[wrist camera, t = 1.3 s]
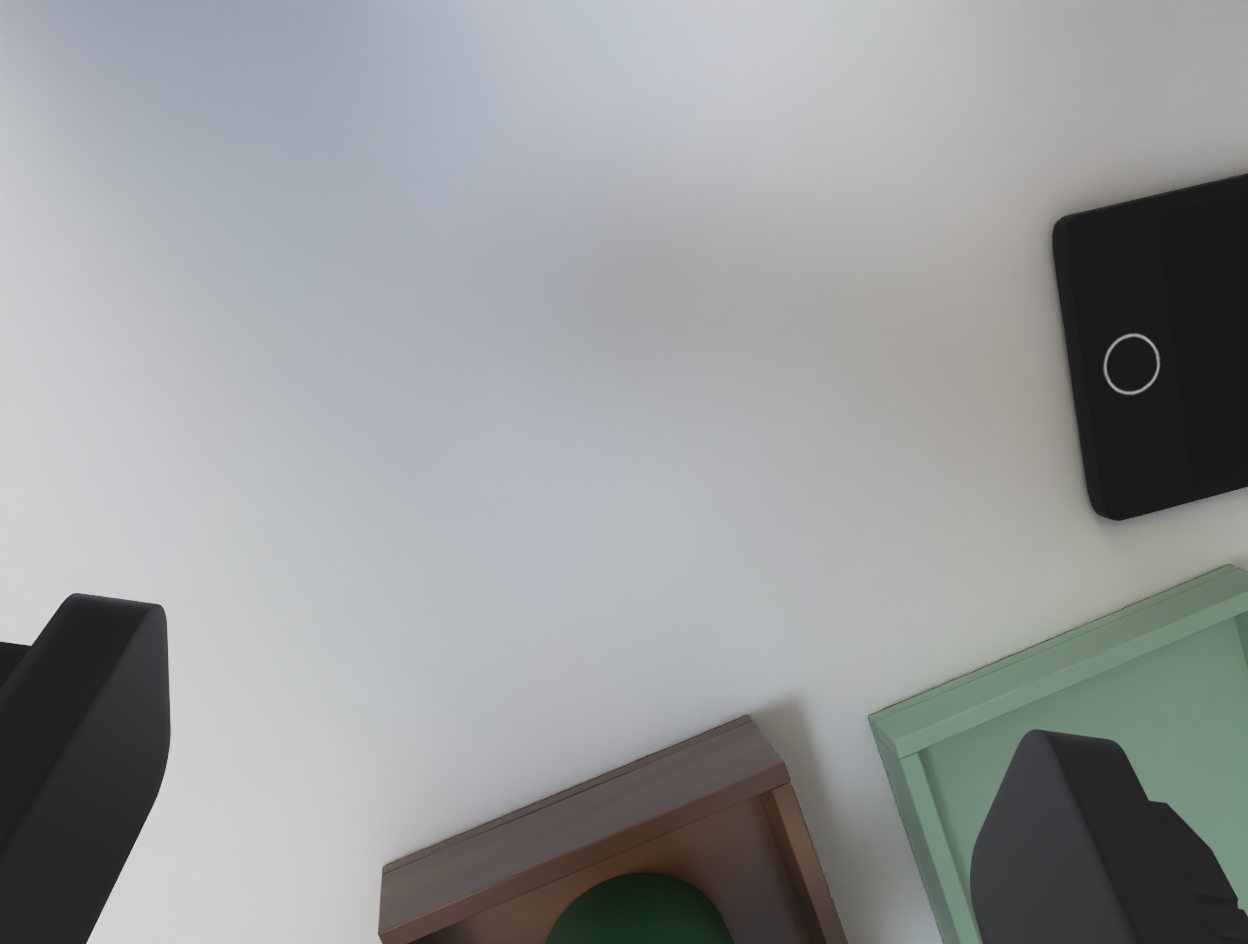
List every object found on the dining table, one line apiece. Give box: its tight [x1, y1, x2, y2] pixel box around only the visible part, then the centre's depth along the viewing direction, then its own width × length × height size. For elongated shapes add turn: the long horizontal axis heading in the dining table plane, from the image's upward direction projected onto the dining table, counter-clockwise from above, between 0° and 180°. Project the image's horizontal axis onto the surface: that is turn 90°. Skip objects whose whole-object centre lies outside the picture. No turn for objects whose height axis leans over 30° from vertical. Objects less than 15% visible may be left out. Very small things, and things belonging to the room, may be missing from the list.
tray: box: [868, 564, 1248, 944], centre depth 36 cm, size 16×12×2 cm
